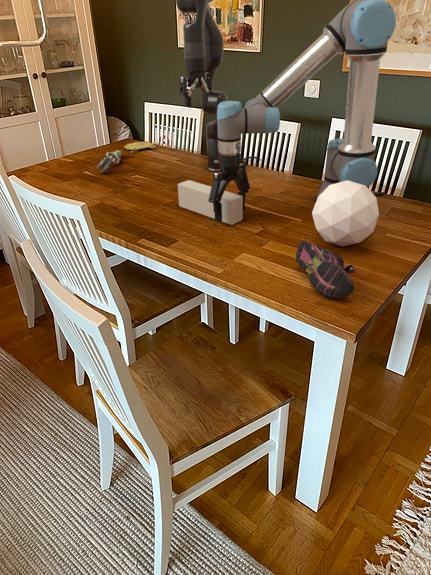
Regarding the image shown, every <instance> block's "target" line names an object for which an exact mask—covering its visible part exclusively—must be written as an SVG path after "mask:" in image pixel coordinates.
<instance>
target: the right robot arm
mask: <svg viewBox="0 0 431 575" xmlns="http://www.w3.org/2000/svg"><path fill="white" fill-rule="evenodd" d="M396 16H397V15H396V12H395V10H394V7H393V6H392V5H391V3H389V2H388V1H386V0H352V1H351V2H350V3H348V4H347V5H346V6H345V7H344V8H342V10H340V12H338V13H337V14H336V15H335V17H333V19H332V20H331V21H330V22H329V23H328V24H327V25H326V26H325V27H323V29H322V30H323V31H322V32H323V33H322V34H321V35H320V36H319V37H318V38H317V39H315V41H313V43H311V44H310V45H309V46H308V48H306V49H305V50H304V51H303V52H302V53H301V54H300V55H299V56H298V57H296V59H295V60H294V61H292V63H290V65H288V66H287V67H286V68H285V69H284V70H283V71H282V72H281V73H280V74H279V75H278V76H277V77H275V79H273V81H271V82H270V83H269V84H268V85H267V86H266V87H265V88H264V89H263V90H262V91H261V92H260V93H258V94H257V96H256V97H254V98H251V99H249V100H248V101H247V102H246V103H245V105H244V107H243V106H242V102H240V101H238V100H228V101H224V102H221V103H219V105H218V108H217V128H218V152H219V154H218V164H219V166H220V171H213V173H212V183H211V186H210V187H211V191H210V196H209V200H208V201H209V202H210V203H213V208H214V212H215V219H214V221H217V222H219V223H222V203H220V201H221V198H222V196H223V193H224V191H226V188H227V186H228V185H229V184H230V183H232V181H233V182H234V184H235V186H236V187H237V189H238V190H239V191H238V192H237V195H240V196H243V212H245V211H246V200H247V199H246V196H247V195H246V194H248V193H249V190H250V188H251V186H250V182H249V178H248V173H247V170H246V169H247V164H241V163H242V161H241V160H242V154H241V152H242V135H247V134H248V135H249V134H250V135H251V134H274V133H277V132H279V130H280V126H281V124H280V123H281V112H280V109H279V108H280V107H281V106H282V105H283V104H284V103H285V102H286V101H288V99H290V97H292V96H293V95H294V94H295V93H296V92H297V91H298V90H300V89H301V87H303V86H304V85H305V84H306V83H307V82H308V81H309V80H311V78H313V77H314V76H315V75H316V74H318V72H319V71H320V70H321V69H322V68H324V67H325V66H326V65H327V64H328V63H329V62H330V61H331V60H332V59H334V58H335V57H336V56H337V55H343V54H344V56H345V57H346V58H347V59H348V61H349V65H348V79H347V93H346V105H345V116H344V117H345V118H344V130H343V138H332V139H331V140H329V141H328V144H327V148H326V158H325V168H324V178H323V182H322V183H320V184H318V189H319V191H318V193H317V195H316V196H317V198H318V196H319V195H320V194H321V193H322V192H323V191H324V190H325V189H326V188H327V187H328V186H329V185H332V184H335V183H339V182H343V181H347V180H349V181H352V182H355V183H358V184H362V185H365V186H366V187H367V188H368V189H369V187H370V186H371V185H372V184H373V183H375V181H376V179H377V176H378V172H379V171H378V170H379V169H378V165H377V163H376V162H375V155H376V145H374V143H373V142H372V137H373V130H374V128H373V127H374V120H375V119H374V118H375V111H376V102H377V94H378V93H377V91H378V81H379V74H380V66H381V65H380V64H381V59H382V58H383V57H384V56H385V55H386V54H387V52H388V44H389V40H390V39H391V38H392V36H393V34H394V32H395V29H396V25H397V17H396ZM372 193H373V195H374V196H380V195H385V191H380V192H372ZM317 198H316V199H317Z"/></svg>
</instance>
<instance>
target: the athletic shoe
mask: <svg viewBox="0 0 431 575" xmlns="http://www.w3.org/2000/svg"><path fill="white" fill-rule="evenodd" d="M295 261H296V263H297V265H298V267H299V268H301V269H302V271H305V272H307V273H308V276H309V277H308V279H309V282H310V284H311V286H312V287H313V288H315V289H314V290H315V291H316V292H318V294H320V295H322V296H325V297H327V298H333V299H339V298H343V297H348V296H350V295H351V294H353V292H354V290H355V286H354V283H353V281H352V279H351V277H350V276H349V274H353V273H357V271H356V270H355V267H354V266H353V265H352V264H349V265H347V266H345V261H344V259H343V258H342V256H340V255H339V254H337V253H335V252H334V251H331V250H329V249H326V248H323V247H320V246H318V245H315V244H313V243H312V242H310V241H308V240H301V242H299V245H298V247H297V251H296V252H295Z"/></svg>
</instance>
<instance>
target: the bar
mask: <svg viewBox="0 0 431 575" xmlns="http://www.w3.org/2000/svg"><path fill="white" fill-rule="evenodd" d="M211 187H212V186H211V185H207V184H204V183H200V182H197V181H195V180H194V181H193V180H190V179H187V180H185V181H182V182H179V183H177V195H178V207H180V208H183V209H186V210H188V211H192V212H195V213H197V214H199V215H203V216H205V217H208V218H211V219H214V220H215V212H214V208H213V203H210V202H209V201H208V200H209V196H210V191H211ZM220 203H222V221H221V223H225V224H228V225H231V226H233V225H234V224H238V223H239V222H241V221H242V220H244V219H243V218H244V217H243V216H244V215H243V212H244V211H243V196H240V195H238V193H234V192H230V191H227V190H225V191H224V193H223V196H222V198H221V201H220Z"/></svg>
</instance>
